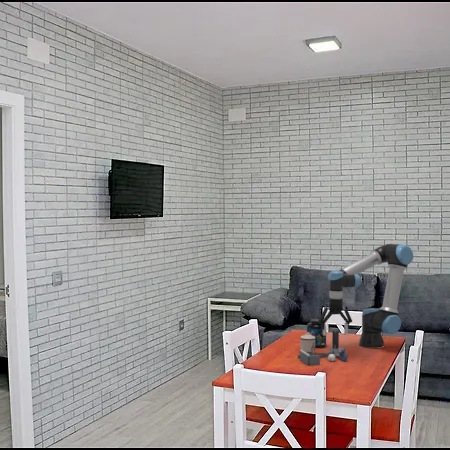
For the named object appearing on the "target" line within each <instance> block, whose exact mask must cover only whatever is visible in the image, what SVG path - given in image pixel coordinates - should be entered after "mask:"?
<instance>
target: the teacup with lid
mask: <svg viewBox="0 0 450 450" xmlns="http://www.w3.org/2000/svg"><path fill="white" fill-rule="evenodd" d="M299 339H300V350H303V351H313V354H316V348H315V339H316V338H315V337H314V336H312V335H310V333H307V332H306V333H305V334H304V335H301V336H300V337H299Z"/></svg>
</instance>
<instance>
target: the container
mask: <svg viewBox="0 0 450 450" xmlns="http://www.w3.org/2000/svg"><path fill="white" fill-rule="evenodd" d="M319 319H320V318H319ZM319 319H318V318H312V319H310V322H308V323H307V325H306V333H310V335H312V336H314V337H315V338H316V339H315V349H321V348H322V349H323V348H325V347H326V346H327V335H326V336H324V335H323V330H322V329H321V325H322V324H321V323H319V322H318V321H319Z"/></svg>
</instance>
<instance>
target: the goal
mask: <svg viewBox="0 0 450 450" xmlns="http://www.w3.org/2000/svg"><path fill="white" fill-rule="evenodd" d="M313 354H314V353H313V351H303V350H300V351H299V355H300V359H299V361H300V362H302V363H303V364H304V365H306V366H319V365H321V358H320V355H313Z"/></svg>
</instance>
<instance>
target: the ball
mask: <svg viewBox="0 0 450 450" xmlns="http://www.w3.org/2000/svg"><path fill="white" fill-rule="evenodd" d="M327 358H328V361H330V362H334V361H335V360H336V357H335V355H333V354H330V355H329V356H328V357H327Z"/></svg>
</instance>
